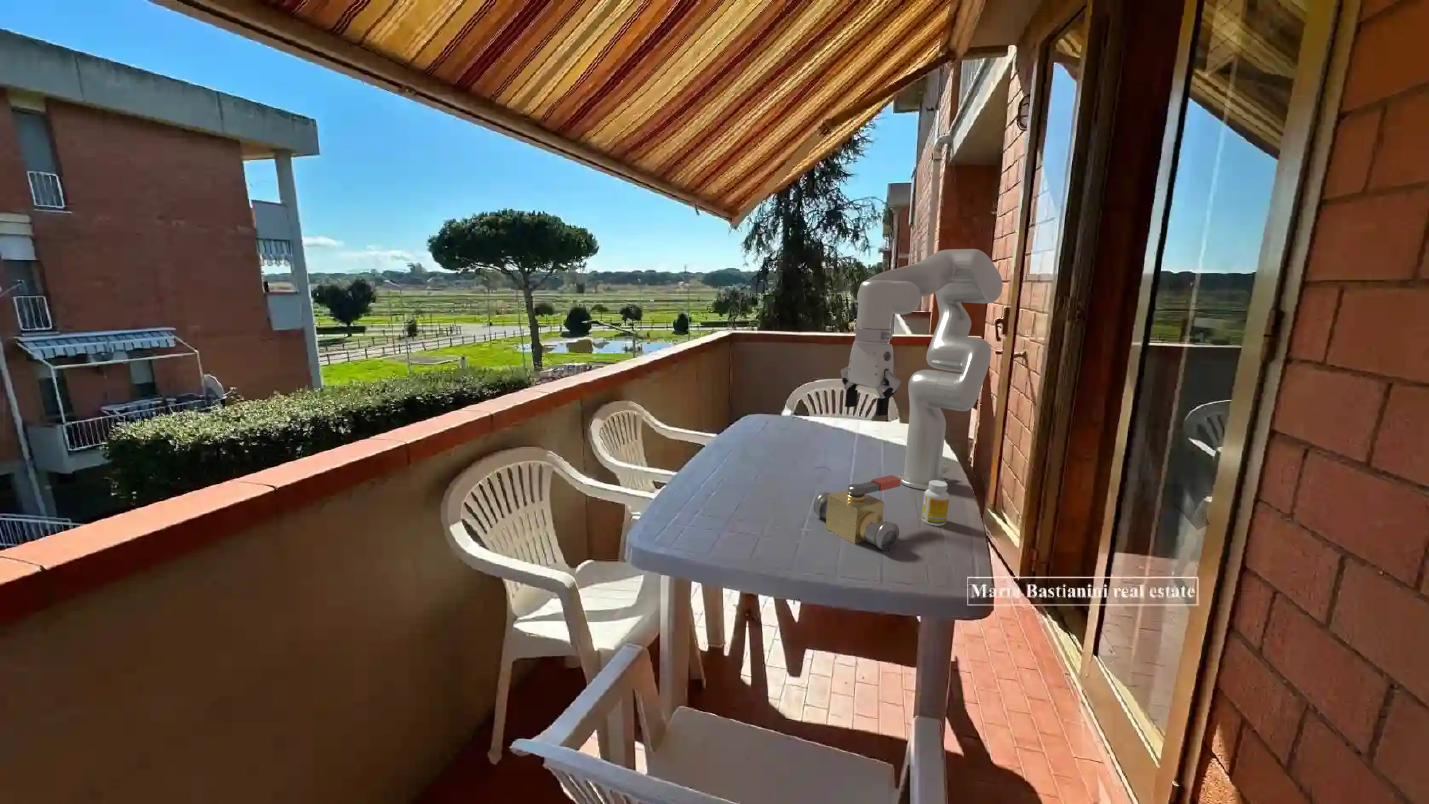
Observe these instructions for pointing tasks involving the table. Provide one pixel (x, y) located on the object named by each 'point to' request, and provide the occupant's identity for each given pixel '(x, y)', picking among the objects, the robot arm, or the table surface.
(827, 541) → the table surface
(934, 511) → the supplement bottle
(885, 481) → the lever
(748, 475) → the table surface
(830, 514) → the valve
